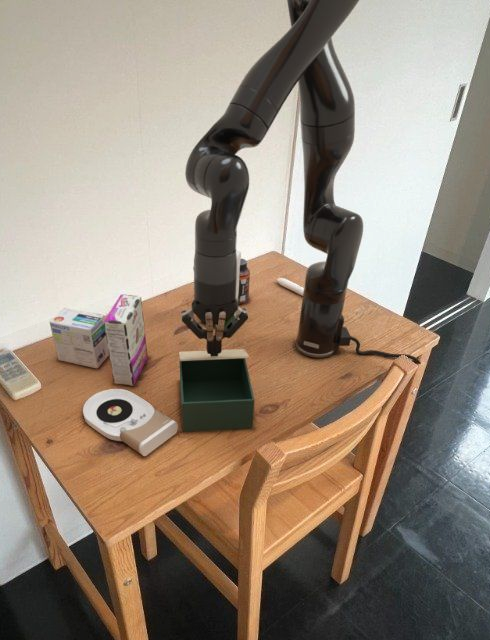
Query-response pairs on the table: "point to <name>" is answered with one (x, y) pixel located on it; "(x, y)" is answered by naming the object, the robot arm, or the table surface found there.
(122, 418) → the record player
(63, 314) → the light bulb box
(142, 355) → the candy bar box
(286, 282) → the marker
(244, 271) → the supplement bottle
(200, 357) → the flap
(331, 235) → the robot arm
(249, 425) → the dark green open box
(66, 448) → the table surface
